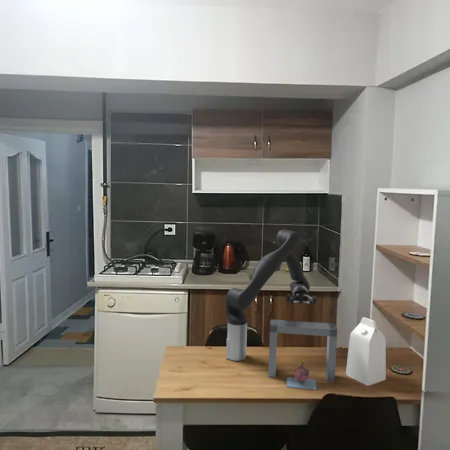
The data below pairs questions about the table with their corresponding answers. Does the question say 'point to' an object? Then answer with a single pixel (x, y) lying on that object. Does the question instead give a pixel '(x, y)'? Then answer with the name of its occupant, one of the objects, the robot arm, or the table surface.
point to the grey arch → (304, 329)
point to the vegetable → (302, 373)
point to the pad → (298, 384)
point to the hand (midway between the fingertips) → (301, 302)
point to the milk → (367, 353)
